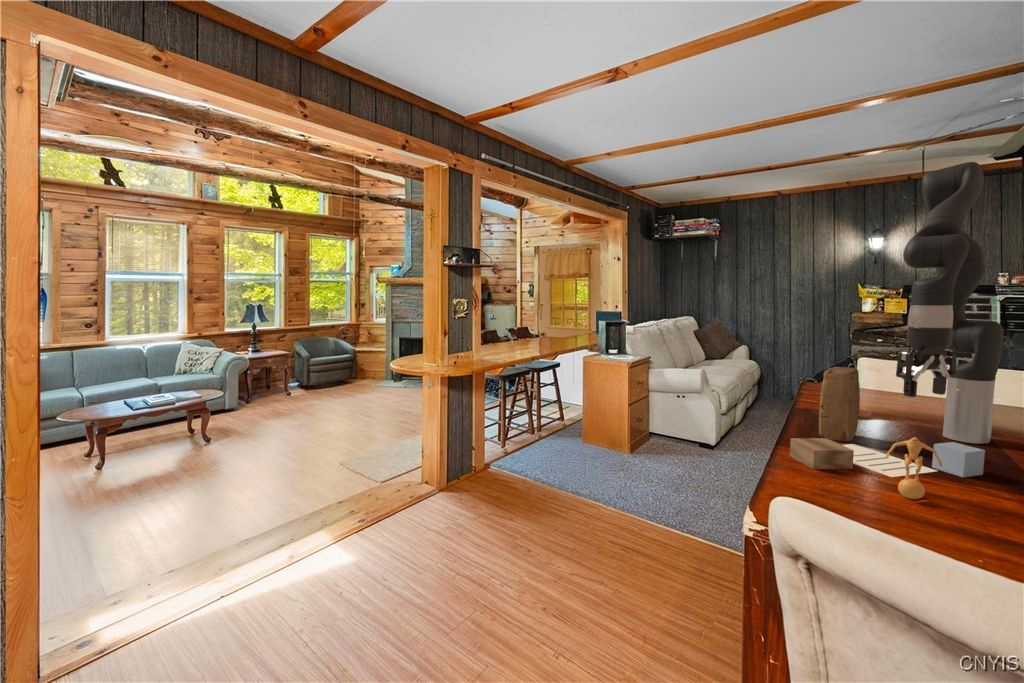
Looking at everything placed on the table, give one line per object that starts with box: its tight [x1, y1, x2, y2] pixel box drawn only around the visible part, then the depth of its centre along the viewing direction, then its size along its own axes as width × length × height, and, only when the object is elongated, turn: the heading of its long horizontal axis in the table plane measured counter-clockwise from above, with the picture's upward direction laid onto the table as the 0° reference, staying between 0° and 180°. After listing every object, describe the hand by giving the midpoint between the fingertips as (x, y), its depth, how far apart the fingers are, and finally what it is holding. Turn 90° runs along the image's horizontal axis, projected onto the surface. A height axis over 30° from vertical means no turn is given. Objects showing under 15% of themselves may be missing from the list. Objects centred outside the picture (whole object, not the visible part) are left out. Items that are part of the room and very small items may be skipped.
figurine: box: [886, 436, 942, 500], centre depth 90 cm, size 8×6×12 cm
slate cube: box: [931, 441, 986, 478], centre depth 103 cm, size 6×6×6 cm
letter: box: [842, 443, 938, 478], centre depth 111 cm, size 14×20×1 cm
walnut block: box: [789, 437, 854, 470], centre depth 109 cm, size 9×9×5 cm
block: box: [818, 366, 861, 442], centre depth 128 cm, size 11×8×20 cm
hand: (924, 395), depth 105 cm, fingers open, 8 cm apart
